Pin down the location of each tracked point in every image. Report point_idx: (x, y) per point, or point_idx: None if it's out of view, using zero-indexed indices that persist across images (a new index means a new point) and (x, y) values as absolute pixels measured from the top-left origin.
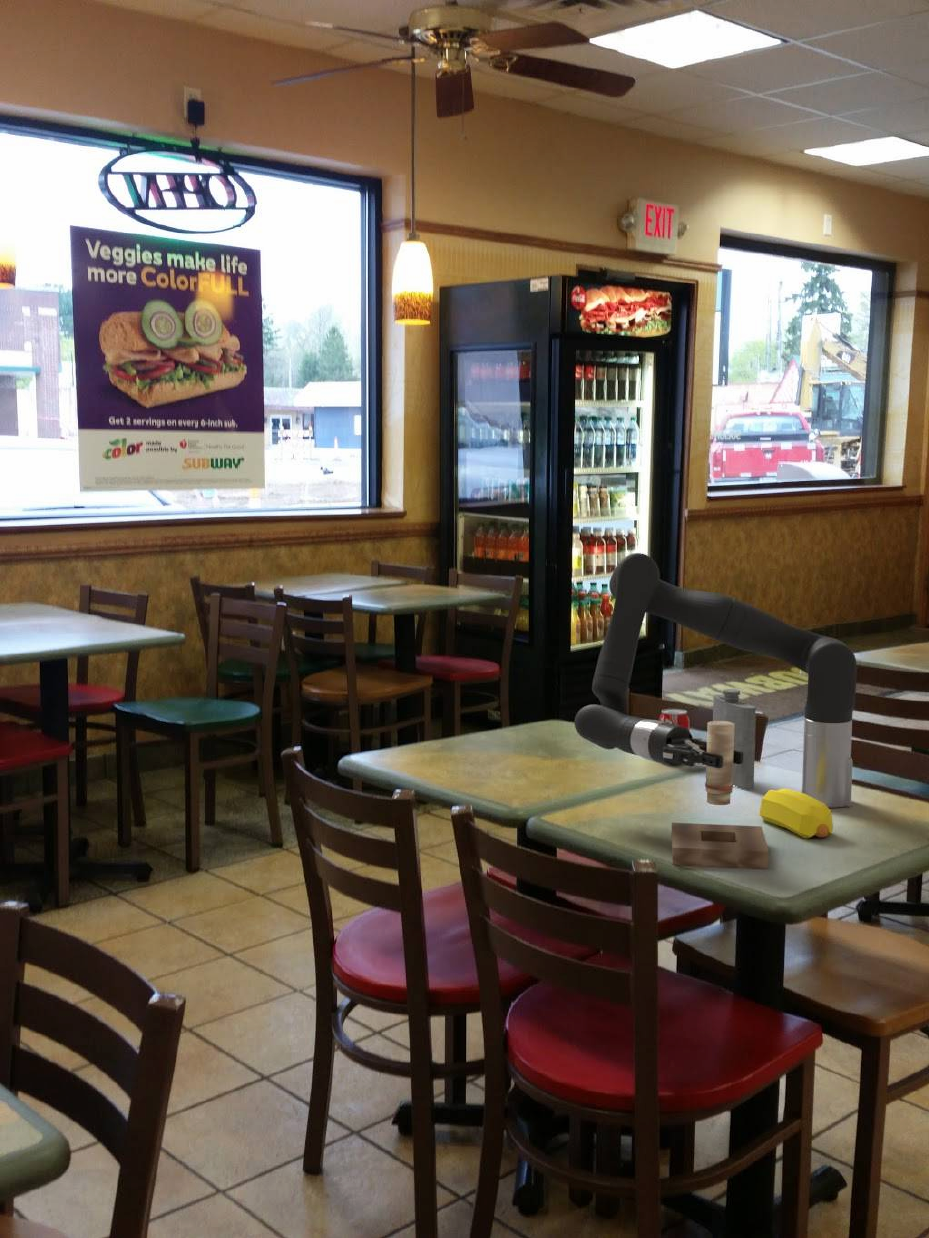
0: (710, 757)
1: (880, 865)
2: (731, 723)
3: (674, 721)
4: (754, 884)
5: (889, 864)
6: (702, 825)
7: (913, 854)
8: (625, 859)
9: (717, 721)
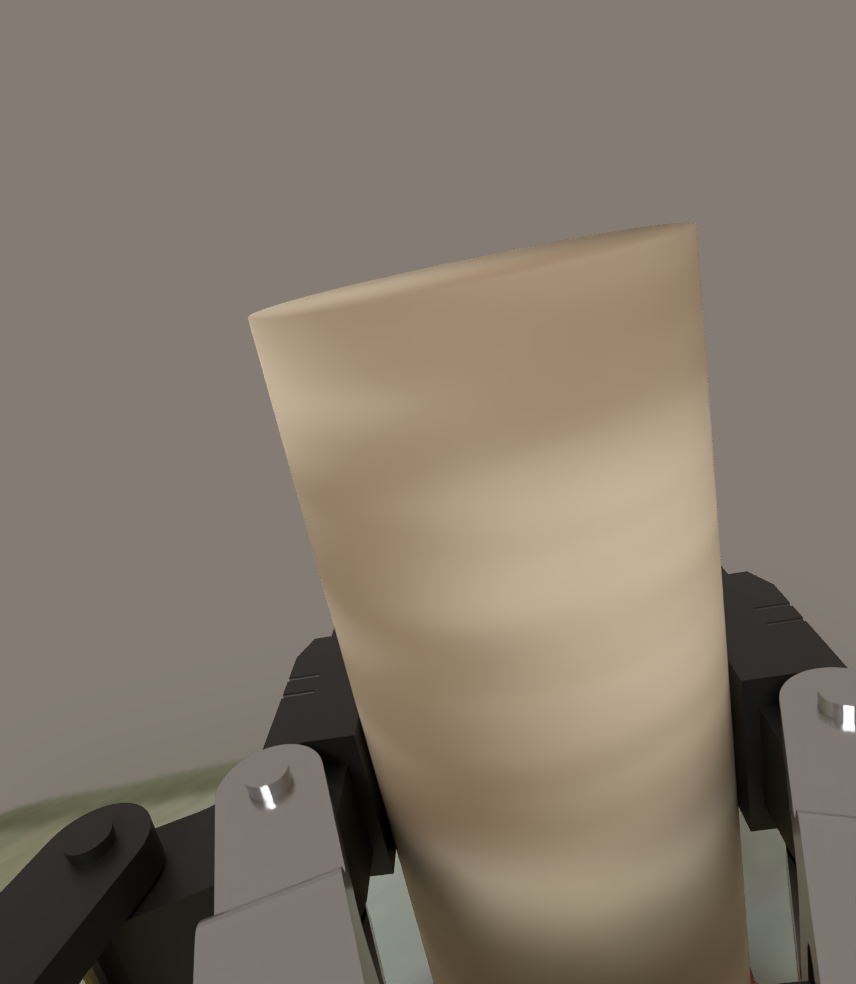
0: (782, 611)
1: (207, 779)
2: (332, 292)
3: None
4: None
5: (180, 775)
6: None
7: (28, 807)
8: None
9: (368, 299)
